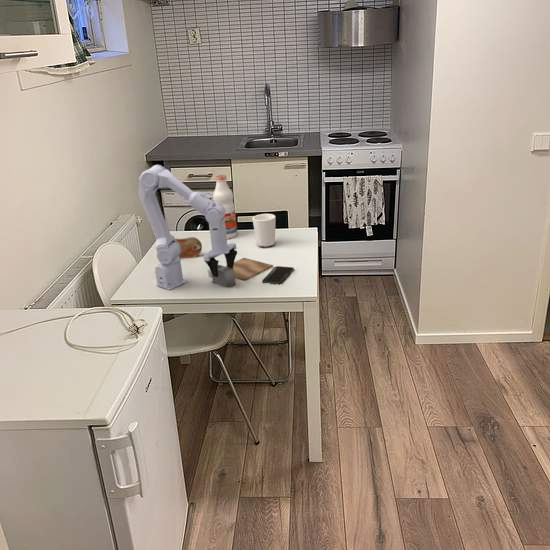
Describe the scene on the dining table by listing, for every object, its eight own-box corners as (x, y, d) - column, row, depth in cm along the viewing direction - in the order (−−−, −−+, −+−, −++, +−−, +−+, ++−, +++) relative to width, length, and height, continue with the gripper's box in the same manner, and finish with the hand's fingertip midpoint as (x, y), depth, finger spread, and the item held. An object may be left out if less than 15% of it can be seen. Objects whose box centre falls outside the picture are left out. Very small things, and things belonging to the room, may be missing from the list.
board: (244, 280, 211) (244, 279, 211) (215, 272, 221) (215, 270, 221) (273, 266, 222) (273, 265, 222) (244, 259, 232) (243, 257, 232)
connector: (230, 288, 206) (228, 273, 203) (207, 281, 213) (205, 266, 211) (237, 284, 208) (236, 269, 206) (215, 277, 216) (213, 263, 214)
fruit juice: (227, 231, 267) (220, 173, 256) (241, 234, 261) (235, 174, 250) (213, 237, 260) (205, 177, 249) (227, 241, 254) (220, 179, 244)
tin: (167, 259, 238) (164, 240, 235) (168, 257, 241) (165, 238, 238) (202, 256, 238) (200, 238, 235) (203, 254, 241) (201, 235, 238)
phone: (261, 281, 208) (275, 265, 220) (261, 284, 208) (276, 268, 221) (281, 283, 205) (295, 267, 218) (281, 285, 205) (295, 270, 218)
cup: (261, 240, 252) (259, 213, 247) (281, 242, 247) (279, 214, 242) (250, 248, 243) (248, 219, 239) (271, 250, 239) (268, 221, 234)
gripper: (211, 246, 196) (216, 282, 201) (240, 233, 206) (244, 268, 211) (197, 242, 200) (202, 277, 206) (227, 230, 210) (231, 264, 215)
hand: (223, 272), depth 209 cm, fingers open, 7 cm apart
